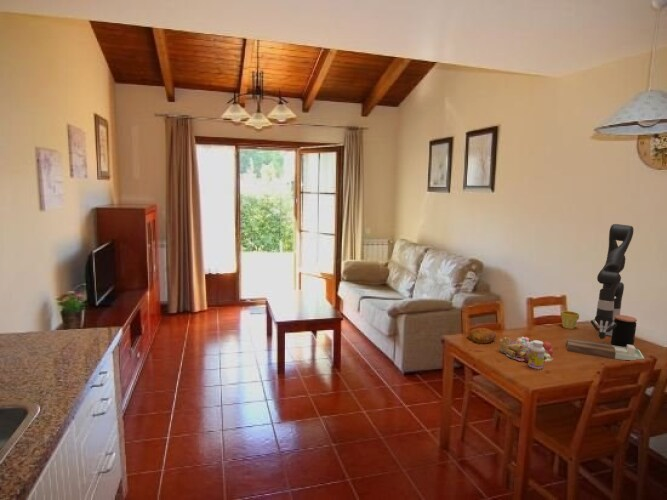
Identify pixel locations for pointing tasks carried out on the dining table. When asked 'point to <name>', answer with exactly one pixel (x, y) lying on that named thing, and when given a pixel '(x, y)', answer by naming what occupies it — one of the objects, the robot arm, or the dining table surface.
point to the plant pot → (569, 319)
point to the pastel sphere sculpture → (523, 349)
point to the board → (590, 347)
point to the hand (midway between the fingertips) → (601, 338)
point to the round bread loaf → (481, 335)
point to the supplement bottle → (536, 355)
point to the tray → (628, 357)
